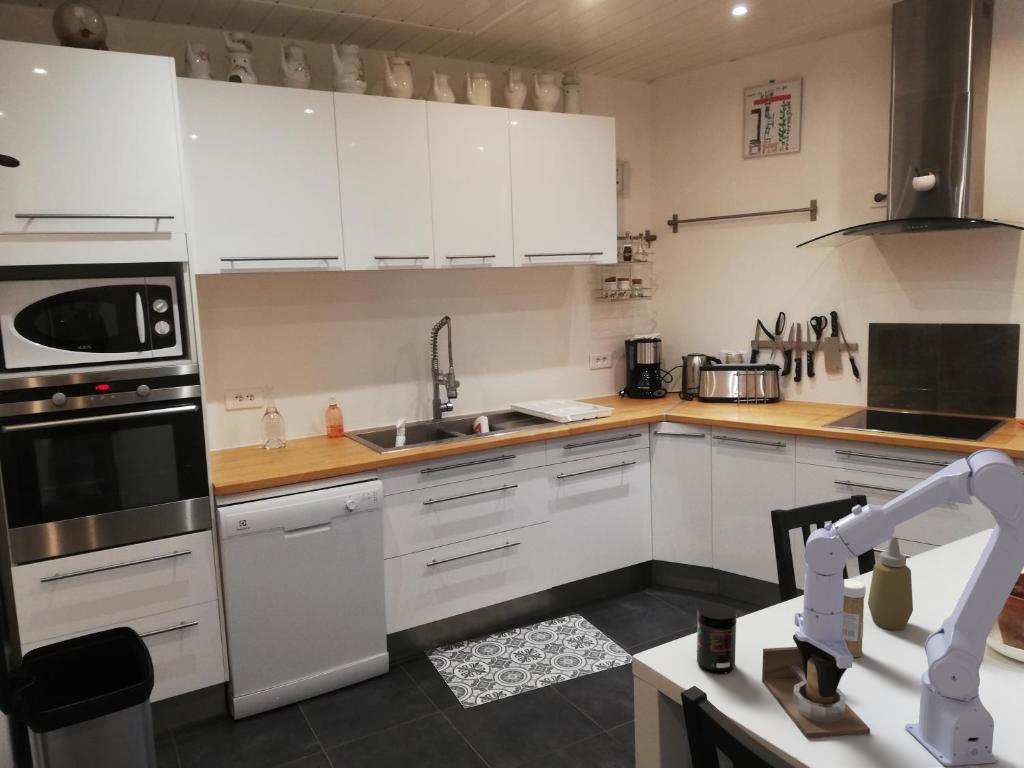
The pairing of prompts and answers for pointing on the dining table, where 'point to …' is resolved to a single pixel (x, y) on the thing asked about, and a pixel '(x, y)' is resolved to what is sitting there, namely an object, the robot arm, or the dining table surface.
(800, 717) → the cup bracket
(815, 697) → the oak peg
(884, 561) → the squeeze bottle
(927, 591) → the dining table surface
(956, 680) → the robot arm
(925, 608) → the dining table surface
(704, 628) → the supplement container
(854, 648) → the sprinkles bottle
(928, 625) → the dining table surface
